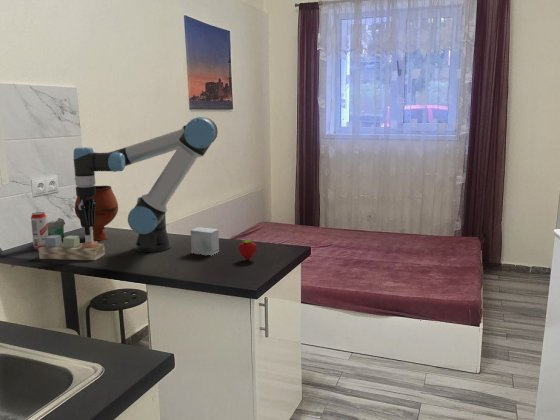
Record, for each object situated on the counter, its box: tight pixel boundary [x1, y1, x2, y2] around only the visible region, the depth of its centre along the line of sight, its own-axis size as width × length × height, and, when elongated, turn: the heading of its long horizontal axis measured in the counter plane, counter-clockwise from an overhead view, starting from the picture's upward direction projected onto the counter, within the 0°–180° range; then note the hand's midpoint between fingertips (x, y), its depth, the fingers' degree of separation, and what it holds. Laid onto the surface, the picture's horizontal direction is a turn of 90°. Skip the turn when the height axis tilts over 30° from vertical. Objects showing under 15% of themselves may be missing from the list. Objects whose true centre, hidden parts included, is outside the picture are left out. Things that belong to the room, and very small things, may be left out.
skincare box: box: [190, 226, 220, 257], centre depth 214 cm, size 10×6×10 cm, turn 65°
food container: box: [47, 217, 66, 243], centre depth 233 cm, size 12×6×10 cm, turn 168°
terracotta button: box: [82, 240, 99, 249], centre depth 208 cm, size 5×5×4 cm
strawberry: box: [238, 239, 258, 261], centre depth 203 cm, size 6×8×10 cm
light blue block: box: [45, 235, 63, 248], centre depth 209 cm, size 5×5×4 cm
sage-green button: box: [62, 235, 81, 248], centre depth 209 cm, size 5×5×4 cm
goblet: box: [74, 185, 119, 241], centre depth 238 cm, size 19×19×25 cm
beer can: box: [30, 211, 48, 251], centre depth 221 cm, size 6×6×16 cm
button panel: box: [38, 242, 106, 261], centre depth 209 cm, size 24×9×4 cm, turn 84°
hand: (89, 242), depth 208 cm, fingers closed
